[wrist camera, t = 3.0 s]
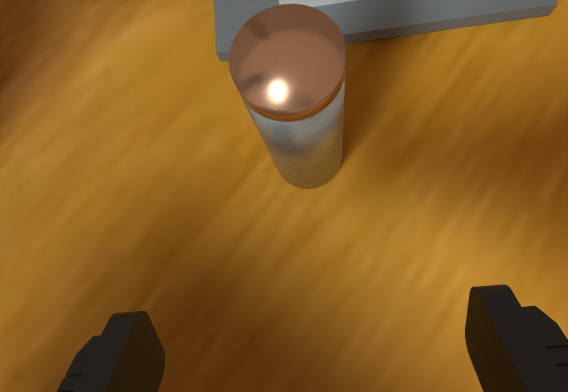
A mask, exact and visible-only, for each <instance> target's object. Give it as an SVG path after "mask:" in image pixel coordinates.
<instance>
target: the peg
mask: <svg viewBox="0 0 568 392" xmlns="http://www.w3.org/2000/svg"><path fill="white" fill-rule="evenodd" d="M229 67H230V72H231V76H232V79H233V81H234V83H235V85H236V87H237V89H238V91H239V93H240V95H241V97H242V99H243V101H244V103H245V105H246V107H247V109H248V111H249V113H250V115H251V117H252V119H253V121H254V123H255V125H256V127H257V129H258V131H259V133H260V135H261V137H262V140H263V142H264V144H265V146H266V148H267V150H268V152H269V154H270V156H271V158H272V160H273V162H274V164H275V166H276V168H277V170H278V172H279V173H280V175H281V176H282V177H283V179H284V180H286V181H287V182H288V183H289V184H291V185H293V186H296V187H298V188H304V189H312V188H317V187H320V186H322V185H325V184H326V183H328V182H329V181H330V180H332V179H333V178H334V177H335V175H336V174H337V173H338V171H339V169H340V166H341V163H342V154H343V125H344V96H345V67H346V47H345V42H344V38H343V35H342V33H341V31H340V29H339V27H338V26H337V25H336V23H335V22H334V21H333V20H332V19H331V18H330V17H329V16H327V15H326V14H325V13H323V12H322V11H320V10H318V9H316V8H313V7H311V6H307V5H302V4H281V5H276V6H273V7H270V8H267V9H265V10H263V11H260V12H259V13H257V14H256V15H254V16H253V17H251V18H250V19H249V20H248V21H247V22H246V23H245V24H244V25H243V26H242V27H241V28H240V30H239V31H238V33H237V34H236V36H235V38H234V40H233V42H232V45H231V49H230V54H229Z"/></svg>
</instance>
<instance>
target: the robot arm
mask: <svg viewBox="0 0 568 392" xmlns="http://www.w3.org/2000/svg"><path fill="white" fill-rule="evenodd" d="M465 339H466V345H467V349H468V353H469V356H470V359H471V361H472V364H473V366H474V369H475V371H476V374H477V376H478V379H479V382H480V384H481V387H482V389H483V392H568V339H567V338H566V336H565V335H564V333H563V332H562V330H561V329H560V327H559V326H558V324H557V323H556V322H555V321H553V320H552V319H551V318H550V317H549V316H547V315H546V314H545V313H544V312H542V311H541V310H540V309H539V308H537V307H536V306H528V307H521V305H520V304H519V302H518V300H517V299H516V297H515V295H514V293H513V292H512V290H511V289H510V287H509V286H507V285H492V286H479V287H472V288H471V290H470V294H469V302H468V310H467V318H466V326H465ZM164 367H165V355H164V350H163V347H162V345H161V343H160V340H159V338H158V336H157V334H156V331H155V329H154V327H153V325H152V322H151V320H150V318H149V316H148V314H147V313H146V312H145V311H137V312H124V313H115V314H113V315H112V316H111V317H110V319H109V321H108V323H107V325H106V327H105V329H104V331H103V333H102V335H101V336H93V337H92V338H91V339H90V340H89V341H88V342H87V344H86V345H85V346H84V347H83V348H82V349H81V350H80V351H79V352H78V353H77V354H76V356H75V358H74V360H73V362H72V364H71V365H70V367H69V369H68V371H67V373H66V378H64V379H63V381H62V382H61V384H60V386H59V388H58V390H57V392H158V389H159V386H160V383H161V380H162V376H163V373H164Z"/></svg>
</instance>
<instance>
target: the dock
mask: <svg viewBox="0 0 568 392" xmlns="http://www.w3.org/2000/svg"><path fill="white" fill-rule="evenodd" d="M281 4H302V5H307V6H311V7H313V8H316V9H318V10H320V11H322V12H323V13H325V14H326V15H327V16H329V17H330V18H331V19H332V20H333V21H334V22H335V23H336V25H337V26H338V27H339V29H340V31H341V33H342V35H343V38H344V42H345V44H348V43H355V42H362V41H369V40H376V39H383V38H390V37H398V36H405V35H412V34H419V33H426V32H433V31H440V30H448V29H455V28H462V27H469V26H476V25H483V24H490V23H497V22H505V21H512V20H519V19H526V18H533V17H540V16H547V15H550V13H551V12H552V11H553V9H554V8H555V7H556V6H557V0H214V10H215V31H216V53H217V55H218V57H219V59H220V61H226V60H229V54H230V49H231V45H232V42H233V40H234V38H235V36H236V34H237V33H238V31H239V30H240V28H241V27H242V26H243V25H244V24H245V23H246V22H247V21H248V20H249V19H250V18H251V17H253V16H254V15H256V14H257V13H259V12H260V11H263V10H265V9H267V8H270V7H273V6H276V5H281Z"/></svg>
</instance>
